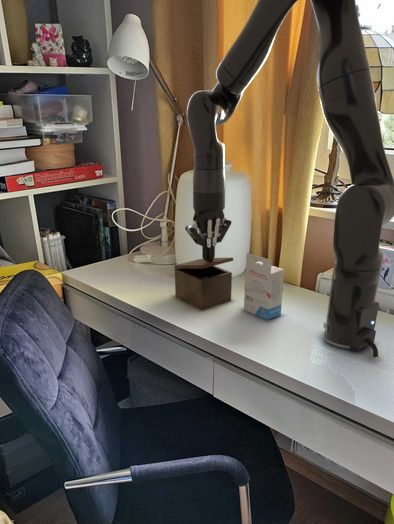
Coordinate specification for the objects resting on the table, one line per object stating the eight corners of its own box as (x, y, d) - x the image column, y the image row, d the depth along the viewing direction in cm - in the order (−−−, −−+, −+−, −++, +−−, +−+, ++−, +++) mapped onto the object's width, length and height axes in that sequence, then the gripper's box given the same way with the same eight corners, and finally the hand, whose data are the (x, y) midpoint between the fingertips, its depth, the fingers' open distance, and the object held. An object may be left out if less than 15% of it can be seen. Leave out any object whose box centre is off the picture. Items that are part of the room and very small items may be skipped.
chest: (231, 301, 124) (231, 272, 120) (202, 310, 119) (201, 280, 115) (203, 288, 132) (203, 261, 129) (175, 296, 127) (174, 268, 123)
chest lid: (233, 260, 119) (233, 257, 118) (203, 268, 113) (202, 265, 113) (204, 261, 128) (203, 258, 128) (174, 268, 123) (174, 265, 123)
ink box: (281, 315, 116) (286, 256, 109) (267, 320, 113) (271, 260, 106) (256, 304, 122) (260, 248, 115) (242, 309, 119) (245, 252, 112)
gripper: (196, 194, 104) (196, 270, 113) (241, 187, 111) (238, 259, 120) (176, 189, 110) (178, 262, 118) (220, 183, 117) (219, 252, 125)
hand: (208, 260), depth 119 cm, fingers closed
